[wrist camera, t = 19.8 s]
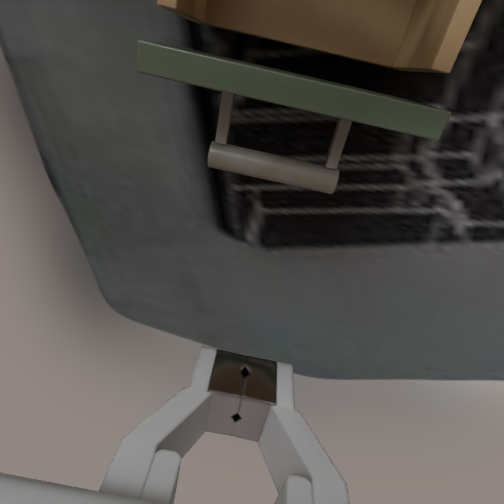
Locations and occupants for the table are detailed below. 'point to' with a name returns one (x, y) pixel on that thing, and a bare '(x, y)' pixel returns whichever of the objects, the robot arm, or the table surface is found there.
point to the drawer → (309, 88)
